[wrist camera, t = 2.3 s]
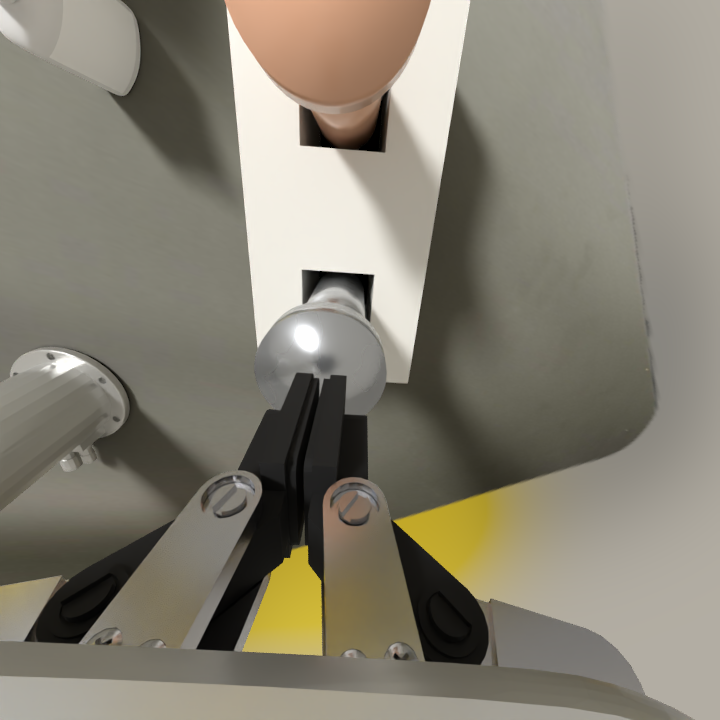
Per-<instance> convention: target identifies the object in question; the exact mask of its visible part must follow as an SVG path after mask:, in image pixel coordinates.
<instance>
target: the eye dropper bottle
mask: <svg viewBox="0 0 720 720" xmlns="http://www.w3.org/2000/svg"><path fill="white" fill-rule="evenodd" d="M0 31H1V32H2V33H3V35H4V36H5V37H6V38H7V39H8V40H10V41H11V42H12V43H14V44H15V45H17V46H19V47H20V48H22V49H24V50H26V51H27V52H29V53H31V54H33V55H35V56H37V57H39V58H41V59H43V60H45V61H47V62H49V63H51V64H53V65H55V66H57V67H59V68H61V69H63V70H65V71H67V72H69V73H71V74H74V75H76V76H78V77H80V78H82V79H84V80H86V81H88V82H90V83H92V84H95V85H97V86H99V87H101V88H103V89H105V90H107V91H109V92H112V93H114V94H116V95H119V96H124V95H126V94H128V92H129V91H130V90H131V88H132V86H133V84H134V82H135V80H136V77H137V74H138V70H139V65H140V56H141V47H140V35H139V29H138V24H137V20H136V18H135V15H134V13H133V12H132V10H131V9H130V8H129V7H128V6H127V5H126V4H125V3H124V2H122V1H121V0H0Z"/></svg>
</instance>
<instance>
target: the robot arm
mask: <svg viewBox="0 0 720 720" xmlns="http://www.w3.org/2000/svg"><path fill="white" fill-rule="evenodd" d="M346 382H347V376H344V375H330V379H325V378H324V380H323V384H322V389H321V393H320V397H319V388H320V380H319V378H314V374H313V373H299V372H297V373H296V374H295V377H294V379H293V382H292V384H291V387H290V389H289V391H288V394H287V396H286V399H285V401H284V403H283V406H282V408H281V410H272V409H269V410H267V411H266V413H265V415H264V417H263V419H262V421H261V423H260V425H259V427H258V429H257V431H256V433H255V436H254V438H253V440H252V442H251V444H250V446H249V448H248V450H247V452H246V454H245V456H244V458H243V460H242V462H241V464H240V467H239V469H238V470H234V471H228V472H224V473H221V474H219V475H216V476H214V477H213V478H211V479H210V480H208V481H207V482H206V483H205V484H204V485H203V486H202V487H201V488H200V489H199V490H198V491H197V492H196V494H195V495H194V496H193V497H192V499H191V500H190V501H189V503H188V504H187V505H186V506H185V508H184V509H183V510H182V512H181V513H180V514H179V515H178V517H177V518H176V519H175V520H173V521H171V522H169V523H167V524H166V525H164V526H162V527H160V528H158V529H157V530H155V531H153V532H151V533H149V534H147V535H146V536H144V537H142V538H140V539H138V540H137V541H135V542H133V543H131V544H129V545H128V546H126V547H124V548H122V549H120V550H118V551H117V552H115V553H113V554H111V555H109V556H108V557H106V558H104V559H102V560H100V561H99V562H97V563H95V564H93V565H91V566H89V567H88V568H86V569H84V570H83V571H81V572H80V573H78V574H77V575H75V576H74V577H72V578H71V579H70V580H65V579H64V578H63V576H56V577H51V578H45V579H39V580H34V581H28V582H22V583H16V584H11V585H5V586H0V720H695V719H693V718H691V717H689V716H687V715H685V714H684V713H682V712H680V711H678V710H676V709H675V708H673V707H670V706H668V705H666V704H663V703H661V702H659V701H657V700H654V699H652V698H650V697H648V696H646V695H645V693H644V691H643V688H642V686H641V684H640V682H639V680H638V678H637V676H636V674H635V673H634V671H633V669H632V667H631V665H630V664H629V663H628V662H627V660H626V659H625V658H624V657H623V656H622V654H621V653H620V652H619V651H618V649H616V648H615V647H614V646H613V645H612V644H610V643H609V642H608V641H607V640H606V639H604V638H603V637H602V636H601V635H598V634H596V633H594V632H592V631H590V630H588V629H586V628H583V627H580V626H576V625H573V624H570V623H567V622H563V621H561V620H557V619H554V618H551V617H548V616H545V615H541V614H538V613H535V612H532V611H529V610H526V609H523V608H519V607H516V606H513V605H510V604H506V603H503V602H500V601H497V600H494V599H490V601H489V603H488V602H484V601H481V600H478V599H475V598H474V596H473V595H472V594H471V593H470V592H469V591H468V589H467V588H466V587H464V586H463V585H462V584H461V583H460V582H459V581H458V580H457V579H455V577H453V576H452V575H451V574H450V573H449V572H448V571H447V570H446V569H445V568H444V567H443V566H442V565H440V564H439V563H438V562H437V561H436V560H435V559H434V558H433V557H432V556H431V555H429V554H428V553H427V552H426V551H425V550H424V549H423V548H422V547H421V546H420V545H419V544H417V543H416V542H415V541H414V540H413V539H412V538H411V537H410V536H408V534H407V533H405V532H404V531H403V530H402V529H401V528H400V527H399V526H398V525H397V524H396V523H395V522H393V521H392V520H391V519H390V515H389V511H388V506H387V502H386V499H385V497H384V494H383V492H382V491H381V490H380V489H379V488H378V486H377V485H375V484H374V483H372V482H371V481H369V480H368V443H367V416H365V415H350V414H345V400H346ZM129 410H130V407H129V400H128V397H127V394H126V392H125V390H124V388H123V386H122V384H121V383H120V382H119V381H118V379H117V378H116V377H115V376H114V375H113V374H112V373H111V372H110V371H109V370H108V369H107V368H106V367H104V366H103V365H102V364H100V363H99V362H97V361H96V360H94V359H92V358H90V357H88V356H87V355H84V354H82V353H79V352H77V351H74V350H70V349H66V348H59V347H43V348H39V349H35V350H32V351H30V352H28V353H26V354H24V355H22V356H21V357H19V358H18V359H17V360H16V361H15V362H14V364H13V366H12V368H11V371H10V378H9V379H7V380H5V381H3V382H0V511H1V510H2V509H4V508H5V507H6V506H7V505H8V504H10V503H11V502H12V501H13V500H14V499H16V498H17V497H18V496H19V495H20V494H21V493H23V492H24V491H25V490H26V489H27V488H29V487H30V486H31V485H32V484H33V483H35V482H36V481H37V480H38V479H39V478H41V477H42V476H43V475H44V474H45V473H47V472H48V471H49V470H50V469H51V468H53V467H54V466H55V465H56V464H57V463H58V462H60V464H61V466H62V468H63V470H64V471H67V472H68V471H73V470H75V469H77V468H79V467H80V466H81V465H82V464H83V463H85V464H89V463H92V462H94V461H95V460H96V459H97V456H96V453H95V451H94V449H93V448H92V445H93V442H95V441H96V440H97V439H98V438H102V437H106V436H108V435H111V434H113V433H114V432H116V431H117V430H118V429H119V428H120V427H121V426H122V425H123V424H124V423H125V422H126V420H127V418H128V416H129ZM79 452H80V454H79ZM80 456H81V457H80ZM304 520H305V545H308V563H309V565H310V566H311V568H312V569H313V570H314V572H315V573H316V574H317V576H318V577H319V578H320V580H321V594H322V596H321V598H322V651H323V656H315V655H296V654H276V653H256V652H242V649H243V647H244V644H245V642H246V639H247V637H248V634H249V632H250V629H251V627H252V624H253V621H254V619H255V616H256V614H257V611H258V609H259V606H260V604H261V601H262V598H263V596H264V593H265V591H266V589H267V586H268V583H269V580H270V576H271V571H273V570H274V569H275V568H276V567H277V566H279V565H280V564H281V563H283V560H284V558H290V555H291V550H292V545H299V544H300V541H301V536H302V531H303V525H304Z"/></svg>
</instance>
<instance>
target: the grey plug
mask: <svg viewBox="0 0 720 720" xmlns="http://www.w3.org/2000/svg"><path fill="white" fill-rule="evenodd" d="M254 365H255V376H256V381H257V384H258V387H259V389H260V391H261V393H262V394H263V396H264V398H265V399H266V400H267V402H268V403H269V404H270V405H271V406H272V407H273V408H274V409H275V410H281V408H282V406H283V403H284V401H285V399H286V396H287V394H288V391H289V389H290V387H291V384H292V382H293V379H294V377H295V374H296V373H297V372H299V373H313V374H314V378H319V380H320V388H319V397H320V393H321V389H322V384H323V380H324V378H325V379H330V375H344V376H347V382H346V400H345V414H350V415H365V414H367V413H368V412H369V411H370V410H371V409H372V408H373V407H374V406H375V405H376V403H377V402H378V401H379V399H380V397H381V395H382V393H383V391H384V388H385V384H386V376H387V370H386V362H385V356H384V350H383V346H382V342H381V340H380V337H379V335H378V333H377V332H376V330H375V328H374V327H373V326H372V325H371V323H370V322H369V321H368V320H367V319H366V318H365V303H364V289H363V285H362V283H361V281H360V280H359V278H358V277H357V276H356V275H355V274H353V273H345V272H331V271H329V272H328V273H326V274H325V275H324V276H323V277H322V278H321V279H320V281H319V282H318V284H317V286H316V288H315V289H314V291H313V293H312V295H311V296H310V298H309V300H308V302H307V303H306V304H302V305H299V306H297V307H294V308H292V309H291V310H289V311H287V312H286V313H284V314H283V315H282V316H281V317H280V318H279V319H278V320H277V321H276V322H275V323H274V325H273V326H272V327H271V329H270V330H269V331H268V332H267V334H266V335H265V337H264V338H263V340H262V341H261V343H260V345H259V347H258V349H257V353H256V356H255V364H254Z"/></svg>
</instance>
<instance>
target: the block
mask: <svg viewBox="0 0 720 720" xmlns="http://www.w3.org/2000/svg"><path fill="white" fill-rule="evenodd" d="M469 5H470V0H431V2H430V6H429V9H428V12H427V15H426V18H425V21H424V24H423V27H422V30H421V33H420V36H419V38H418V41H417V44H416V47H415V49H414V52H413V54H412V56H411V58H410V60H409V62H408V64H407V66H406V67H405V69H404V71H403V72H402V74H401V75H400V77H399V78H398V79H397V81H396V82H395V83H394V84H393V86H392V87H391V88H390V89H389V90H388V91H387V92H386V93H385V94H384V95H383V96H382V98H381V99H383V102H382V115H381V127H380V140H379V152H371V151H359V150H347V149H335V148H323V147H320V128H319V126H318V123H317V121H316V119H315V117H314V115H313V113H312V111H311V110H310V109H307V108H305V107H303V106H301V105H299V104H298V103H296V102H295V101H293V100H292V99H290V98H289V97H287V96H286V95H285V94H284V93H283V92H282V91H281V90H280V89H279V88H277V87H276V85H275V84H274V83H273V82H272V81H271V80H270V78H269V77H268V76H267V75H266V73H265V72H264V70H263V69H262V67H261V66H260V64H259V63H258V62H257V60H256V59H255V57H254V56H253V54H252V53H251V51H250V50H249V48H248V47H247V46H246V44H245V43H244V41H243V39H242V38H241V36H240V34H239V32H238V30H237V28H236V27H235V25H234V23H233V20H232V18H231V16H230V13H229V11H228V9H227V17H228V28H229V39H230V50H231V61H232V72H233V83H234V94H235V105H236V116H237V127H238V138H239V149H240V160H241V171H242V182H243V193H244V204H245V215H246V226H247V237H248V248H249V259H250V270H251V281H252V292H253V303H254V314H255V325H256V336H257V346H258V347H259V345H260V343H261V341H262V340H263V338H264V337H265V335H266V334H267V332H268V331H269V330H270V329H271V327H272V326H273V325H274V323H275V322H276V321H277V320H278V319H279V318H280V317H281V316H282V315H283V314H284V313H286V312H287V311H289V310H291V309H292V308H294V307H297V306H299V305H302V304H306V303H307V302H308V300H309V298H310V296H311V295H312V293H313V291H314V289H315V288H316V286H317V284H318V282H319V271H331V272H345V273H359V274H369V277H368V289H367V301H366V304H365V318H366V319H367V320H368V321H369V322H370V323H371V325H372V326H373V327H374V328H375V330H376V332H377V333H378V335H379V337H380V340H381V342H382V346H383V350H384V356H385V362H386V370H387V376H386V382H392V383H408V379H409V373H410V367H411V361H412V354H413V348H414V342H415V336H416V330H417V324H418V318H419V312H420V305H421V299H422V293H423V287H424V281H425V275H426V269H427V262H428V256H429V250H430V244H431V238H432V232H433V226H434V220H435V213H436V207H437V201H438V195H439V189H440V183H441V177H442V170H443V164H444V158H445V152H446V146H447V140H448V134H449V128H450V121H451V115H452V109H453V103H454V97H455V91H456V85H457V79H458V72H459V66H460V60H461V54H462V48H463V42H464V36H465V29H466V23H467V17H468V11H469Z"/></svg>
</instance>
